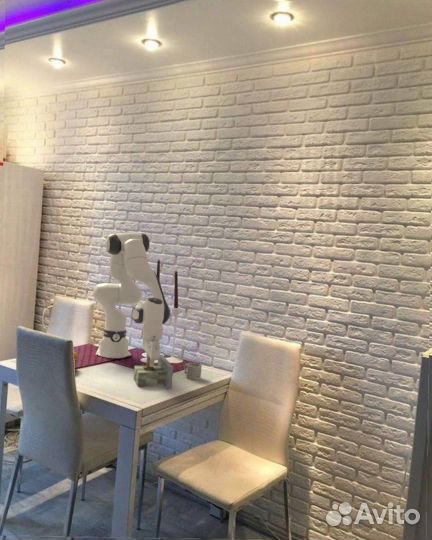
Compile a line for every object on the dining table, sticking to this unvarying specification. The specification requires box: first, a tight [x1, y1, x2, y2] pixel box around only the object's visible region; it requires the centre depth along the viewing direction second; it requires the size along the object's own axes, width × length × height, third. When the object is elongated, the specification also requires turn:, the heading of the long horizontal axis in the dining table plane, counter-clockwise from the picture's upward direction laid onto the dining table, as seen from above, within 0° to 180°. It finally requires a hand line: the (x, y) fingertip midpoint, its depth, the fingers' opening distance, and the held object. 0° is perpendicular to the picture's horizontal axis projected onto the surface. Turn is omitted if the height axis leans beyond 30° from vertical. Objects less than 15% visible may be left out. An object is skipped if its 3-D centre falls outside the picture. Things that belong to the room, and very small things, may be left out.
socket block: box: [133, 365, 166, 388], centre depth 219 cm, size 12×12×6 cm
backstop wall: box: [157, 354, 174, 391], centre depth 221 cm, size 22×2×10 cm, turn 19°
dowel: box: [145, 356, 153, 371], centre depth 219 cm, size 3×3×10 cm
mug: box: [183, 362, 202, 381], centre depth 232 cm, size 10×7×7 cm, turn 46°
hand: (150, 364), depth 218 cm, fingers open, 4 cm apart
